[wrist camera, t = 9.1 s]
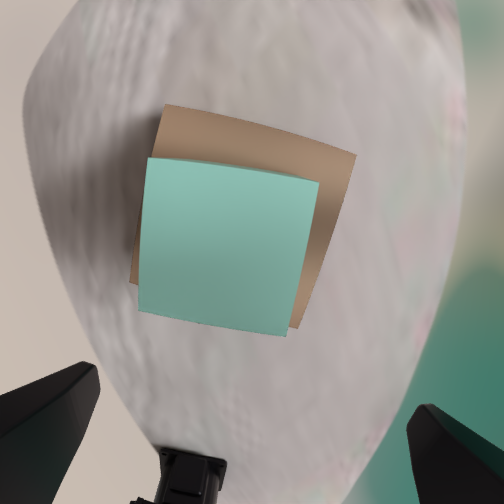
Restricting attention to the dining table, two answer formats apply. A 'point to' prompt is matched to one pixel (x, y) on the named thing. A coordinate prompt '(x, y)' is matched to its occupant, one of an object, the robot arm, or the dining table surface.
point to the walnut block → (262, 157)
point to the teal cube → (223, 243)
